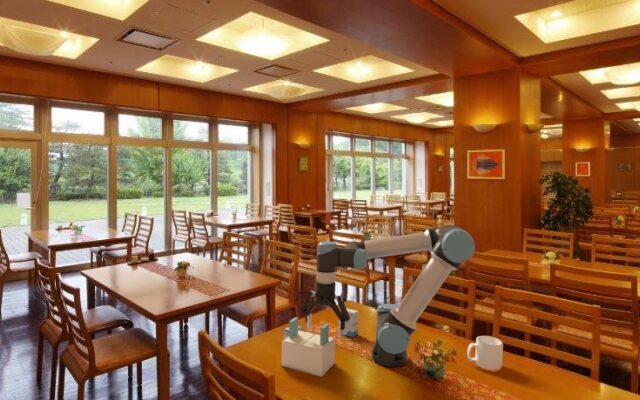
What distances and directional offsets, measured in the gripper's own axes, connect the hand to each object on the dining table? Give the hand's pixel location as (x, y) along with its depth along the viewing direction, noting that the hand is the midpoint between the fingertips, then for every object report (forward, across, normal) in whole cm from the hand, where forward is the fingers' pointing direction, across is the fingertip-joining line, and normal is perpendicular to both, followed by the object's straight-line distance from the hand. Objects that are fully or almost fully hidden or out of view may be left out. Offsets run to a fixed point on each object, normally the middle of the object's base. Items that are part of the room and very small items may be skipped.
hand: (324, 334), depth 157 cm
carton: (+14, +7, 0) cm, 16 cm away
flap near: (+4, +3, 0) cm, 5 cm away
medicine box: (+15, +21, -12) cm, 28 cm away
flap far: (+4, +11, 0) cm, 12 cm away
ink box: (+14, +4, -37) cm, 40 cm away
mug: (+14, -58, -34) cm, 69 cm away
